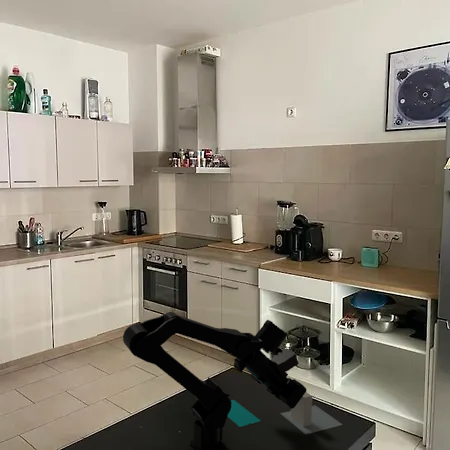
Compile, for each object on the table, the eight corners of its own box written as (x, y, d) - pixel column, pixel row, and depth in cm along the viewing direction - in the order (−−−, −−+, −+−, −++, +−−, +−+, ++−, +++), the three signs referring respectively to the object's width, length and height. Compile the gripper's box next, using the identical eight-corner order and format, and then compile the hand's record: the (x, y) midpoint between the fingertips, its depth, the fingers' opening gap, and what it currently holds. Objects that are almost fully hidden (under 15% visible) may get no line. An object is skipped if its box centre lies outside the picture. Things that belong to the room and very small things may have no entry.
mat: (305, 435, 118) (305, 434, 118) (280, 414, 129) (280, 413, 129) (342, 426, 123) (342, 424, 123) (315, 406, 134) (315, 405, 134)
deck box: (303, 426, 122) (304, 397, 121) (290, 416, 127) (291, 388, 126) (311, 424, 123) (312, 395, 122) (298, 414, 128) (299, 386, 128)
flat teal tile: (233, 398, 137) (262, 421, 124) (233, 401, 137) (262, 424, 124) (211, 404, 134) (239, 427, 121) (211, 407, 134) (239, 430, 121)
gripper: (301, 353, 111) (335, 389, 117) (261, 331, 128) (293, 364, 134) (272, 390, 108) (309, 426, 114) (236, 363, 125) (269, 395, 131)
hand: (295, 400), depth 123 cm, fingers closed
